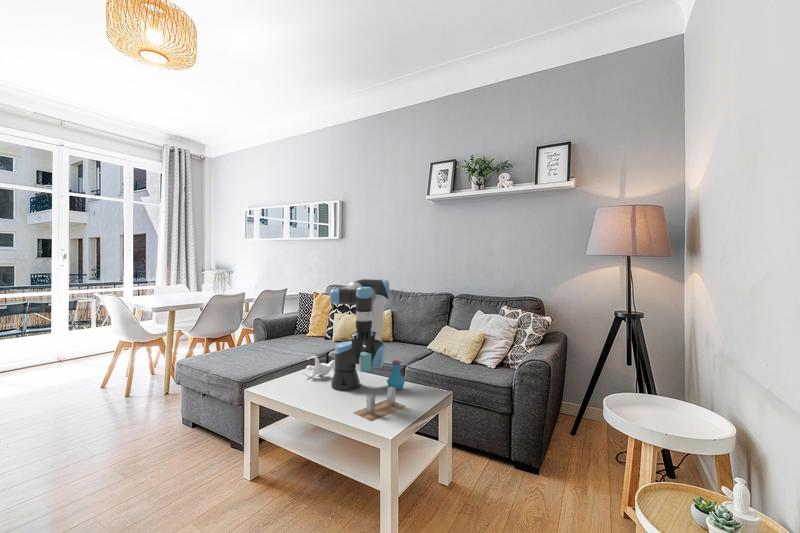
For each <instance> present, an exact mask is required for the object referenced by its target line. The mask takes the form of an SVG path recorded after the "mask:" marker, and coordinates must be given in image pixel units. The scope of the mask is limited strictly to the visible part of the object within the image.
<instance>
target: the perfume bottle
mask: <svg viewBox="0 0 800 533" xmlns="http://www.w3.org/2000/svg"><path fill="white" fill-rule="evenodd" d="M391 363H392V373H391V374H390V376H389V377H388V379H387V380H386V382H387V386H388V388H389V387H391V386H392V387H394V388H396V391H399V390H401V389H403V388H404V385H405V382H406V381H405V379H404V377H403V376H402V375H401V373H400V369H401V367H400V365H401V361H400V360H398V359H397V360H393V361H392V362H391Z"/></svg>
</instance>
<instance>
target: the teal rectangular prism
mask: <svg viewBox="0 0 800 533" xmlns="http://www.w3.org/2000/svg"><path fill="white" fill-rule="evenodd" d="M360 357H361V371H360V372H361V373H365V372H369V371H372V368H371V354H370V353H367V352H361V353H360ZM355 370H356V367H355Z"/></svg>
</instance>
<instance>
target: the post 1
mask: <svg viewBox="0 0 800 533" xmlns="http://www.w3.org/2000/svg"><path fill="white" fill-rule="evenodd" d="M375 404H376V395H375V394H373V393H369V394H367V395H366V407H367V409H366V413H367V414H369V415H372V414H375Z"/></svg>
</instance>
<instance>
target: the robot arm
mask: <svg viewBox="0 0 800 533" xmlns="http://www.w3.org/2000/svg"><path fill="white" fill-rule="evenodd" d="M390 290H391V288H390V282H389V280H388V279H383V278H382V279H365V278H364V279H363V278H361V279H358V280H354V281H351V282H350V283H349V284H348V285H346V286H345V287H343V288H332V289H331V290H330V295H329V299H330V300H329V301H330V303H332V304H335V305H355V308H356V309H355V319H356V320H355V329H356V332H355V333H354V334H351V336H350V337H351V340H350V341H343V342H340V343H337V344H336V345H335V350H334V360H335V373H334V372H333V376H332V380H331V382H330V386H331V388H332V389H333V390H336V391H352V390H355V389H358V388H359V387H360V385H361V382H360V381H361V380H360V378H359V375H358V374H359V373H358V372H361V357H360V353H361V352H367V353H370V354H371V369H376V368H378V369H379V368H382V367H383V364H384V363H385V358H386V351H387V350H386V348H387V347H386V345H384V342H383V341H382V336H383V335H382V332H383V321H384V312H385V311H384V310H385V304H387V303H388V300H390V299H391V291H390ZM355 367H356V370H355ZM357 371H358V372H357Z"/></svg>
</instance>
